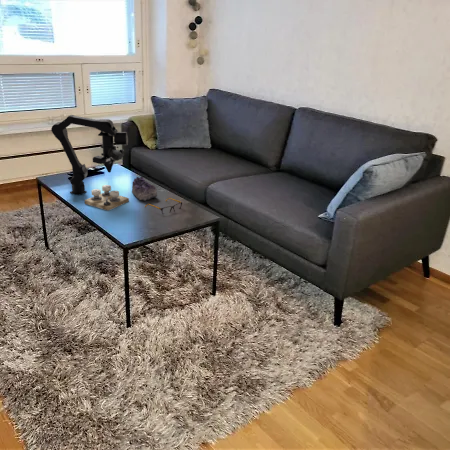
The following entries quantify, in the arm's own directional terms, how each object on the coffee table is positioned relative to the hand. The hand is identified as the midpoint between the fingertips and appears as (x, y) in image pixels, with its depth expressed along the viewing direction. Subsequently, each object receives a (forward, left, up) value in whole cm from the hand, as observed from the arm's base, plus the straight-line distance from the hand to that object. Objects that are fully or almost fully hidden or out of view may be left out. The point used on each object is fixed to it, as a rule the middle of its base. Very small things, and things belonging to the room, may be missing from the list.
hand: (109, 172), depth 249 cm
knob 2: (+3, -6, -10) cm, 12 cm away
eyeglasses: (+36, +1, -13) cm, 38 cm away
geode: (+15, +9, -13) cm, 22 cm away
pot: (+13, -17, -10) cm, 24 cm away
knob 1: (+3, -14, -10) cm, 18 cm away
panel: (+8, -11, -12) cm, 18 cm away
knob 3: (+12, -10, -10) cm, 19 cm away
